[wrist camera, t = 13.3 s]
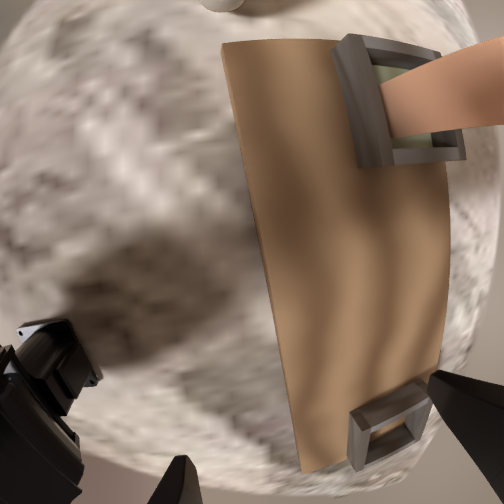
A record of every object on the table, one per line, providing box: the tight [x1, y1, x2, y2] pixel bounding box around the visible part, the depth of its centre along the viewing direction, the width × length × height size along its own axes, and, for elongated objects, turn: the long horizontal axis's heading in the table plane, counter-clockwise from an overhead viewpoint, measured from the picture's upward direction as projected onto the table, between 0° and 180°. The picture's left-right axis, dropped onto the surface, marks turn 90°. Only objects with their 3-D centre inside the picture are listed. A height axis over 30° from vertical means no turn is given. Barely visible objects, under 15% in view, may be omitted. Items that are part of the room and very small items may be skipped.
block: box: [378, 36, 504, 139], centre depth 11 cm, size 4×4×12 cm
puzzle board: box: [221, 34, 466, 474], centre depth 20 cm, size 17×42×4 cm, turn 11°
